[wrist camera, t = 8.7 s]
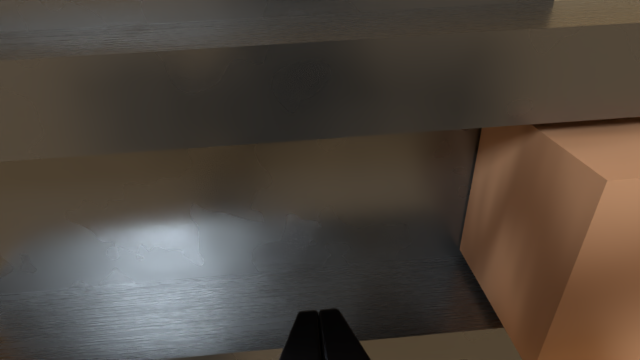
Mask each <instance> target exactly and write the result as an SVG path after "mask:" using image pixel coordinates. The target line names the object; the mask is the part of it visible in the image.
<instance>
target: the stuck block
mask: <svg viewBox="0 0 640 360" xmlns="http://www.w3.org/2000/svg"><path fill="white" fill-rule="evenodd" d="M460 251H461V253H462V255H463V256H464V258H465V260H466V262H467V263H468V265H469V267H470V269H471V270H472V272H473V274H474V276H475V277H476V279H477V281H478V283H479V284H480V286H481V288H482V290H483V291H484V293H485V295H486V297H487V298H488V300H489V302H490V304H491V306H492V307H493V309H494V311H495V313H496V314H497V316H498V318H499V320H500V321H501V323H502V325H503V327H504V328H505V330H506V332H507V334H508V335H509V337H510V339H511V341H512V342H513V344H514V346H515V348H516V349H517V351H518V353H519V355H520V356H521V358H522V360H640V117H629V118H615V119H601V120H586V121H572V122H558V123H544V124H530V125H515V126H501V127H487V128H482V130H481V136H480V141H479V147H478V152H477V158H476V163H475V168H474V174H473V179H472V185H471V190H470V196H469V201H468V206H467V212H466V217H465V223H464V228H463V234H462V239H461V245H460Z"/></svg>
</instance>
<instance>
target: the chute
mask: <svg viewBox="0 0 640 360" xmlns="http://www.w3.org/2000/svg"><path fill="white" fill-rule="evenodd" d="M629 117H640V0H0V360H279V358H280V355H281V353H282V350H283V348H284V345H285V343H286V340H287V338H288V335H289V333H290V330H291V328H292V326H293V323H294V321H295V318H296V316H297V314H298V312H300V311H307V310H316V311H317V312H318V313H319V311H320V310H321V309H329V308H337V309H338V310H339V311H340V312H341V314H342V315H343V317H344V318H345V320H346V321H347V323H348V325H349V326H350V328H351V329H352V331H353V332H354V334H355V335H356V337H357V339H358V340H359V342H360V343H361V345H362V346H363V348H364V350H365V351H366V353H367V354H368V356H369V357H370V359H371V360H522V358H521V356H520V355H519V353H518V351H517V349H516V348H515V346H514V344H513V342H512V341H511V339H510V337H509V335H508V334H507V332H506V330H505V328H504V327H503V325H502V323H501V321H500V320H499V318H498V316H497V314H496V313H495V311H494V309H493V307H492V306H491V304H490V302H489V300H488V298H487V297H486V295H485V293H484V291H483V290H482V288H481V286H480V284H479V283H478V281H477V279H476V277H475V276H474V274H473V272H472V270H471V269H470V267H469V265H468V263H467V262H466V260H465V258H464V256H463V255H462V253H461V251H460V245H461V239H462V234H463V228H464V223H465V217H466V212H467V206H468V201H469V196H470V190H471V185H472V179H473V174H474V168H475V163H476V158H477V152H478V147H479V141H480V136H481V130H482V128H487V127H501V126H515V125H530V124H544V123H558V122H572V121H586V120H601V119H615V118H629ZM318 316H319V314H318Z"/></svg>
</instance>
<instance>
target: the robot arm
mask: <svg viewBox="0 0 640 360" xmlns="http://www.w3.org/2000/svg"><path fill="white" fill-rule="evenodd" d="M318 314H319V316H318ZM279 360H371V359H370V357H369V356H368V354H367V353H366V351H365V350H364V348H363V346H362V345H361V343H360V342H359V340H358V339H357V337H356V335H355V334H354V332H353V331H352V329H351V328H350V326H349V325H348V323H347V321H346V320H345V318H344V317H343V315H342V314H341V312H340V311H339V310H338V309H337V308H329V309H321V310H320V311H319V313H318V312H317V311H316V310H307V311H300V312H298V314H297V316H296V318H295V321H294V323H293V326H292V328H291V330H290V333H289V335H288V338H287V340H286V343H285V345H284V348H283V350H282V353H281V355H280V358H279Z"/></svg>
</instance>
